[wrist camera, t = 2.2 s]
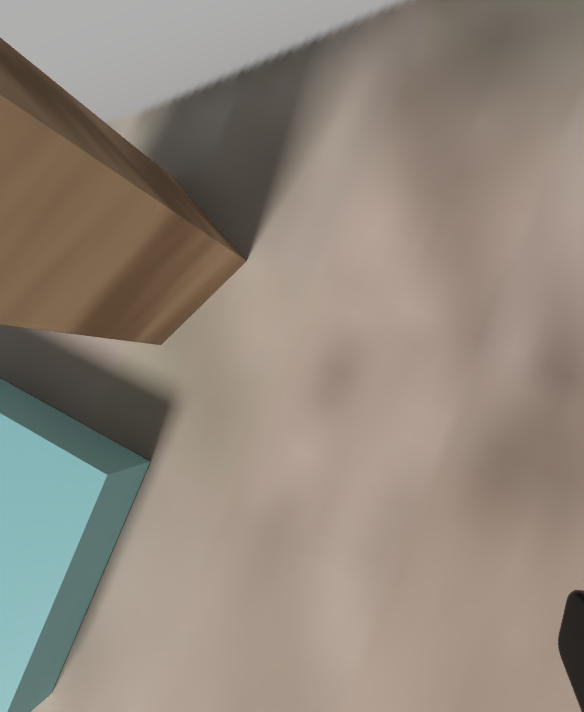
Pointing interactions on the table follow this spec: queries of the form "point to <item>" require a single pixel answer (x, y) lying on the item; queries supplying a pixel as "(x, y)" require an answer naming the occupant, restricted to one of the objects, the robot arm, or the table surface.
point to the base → (52, 536)
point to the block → (93, 222)
